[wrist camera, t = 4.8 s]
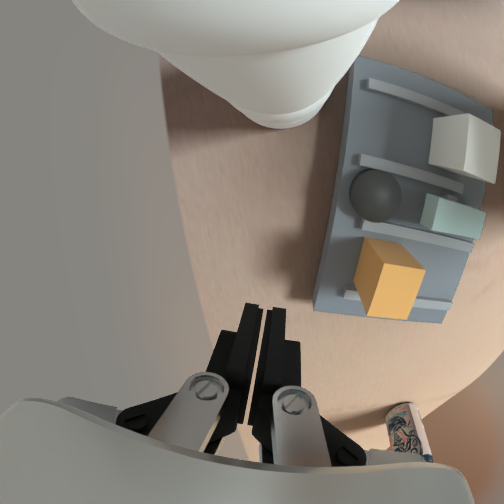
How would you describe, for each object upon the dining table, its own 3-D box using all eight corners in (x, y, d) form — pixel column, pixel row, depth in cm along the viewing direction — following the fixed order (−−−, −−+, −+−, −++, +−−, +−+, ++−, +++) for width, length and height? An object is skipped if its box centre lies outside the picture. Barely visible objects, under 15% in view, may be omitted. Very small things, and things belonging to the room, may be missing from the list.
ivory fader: (463, 130, 15) (500, 130, 10) (457, 174, 16) (495, 184, 11) (433, 118, 15) (469, 113, 10) (428, 163, 16) (463, 170, 12)
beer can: (400, 397, 28) (420, 474, 17) (422, 402, 28) (443, 471, 17) (377, 418, 29) (389, 491, 18) (400, 422, 30) (414, 489, 18)
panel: (478, 111, 15) (501, 109, 12) (432, 310, 23) (446, 330, 19) (348, 64, 17) (358, 49, 13) (312, 296, 24) (314, 318, 21)
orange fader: (399, 243, 19) (425, 270, 14) (387, 285, 20) (406, 319, 15) (364, 236, 19) (384, 263, 14) (353, 280, 20) (366, 315, 16)
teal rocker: (474, 207, 16) (486, 212, 15) (468, 233, 17) (479, 239, 16) (426, 192, 16) (439, 197, 14) (419, 223, 16) (431, 230, 15)
